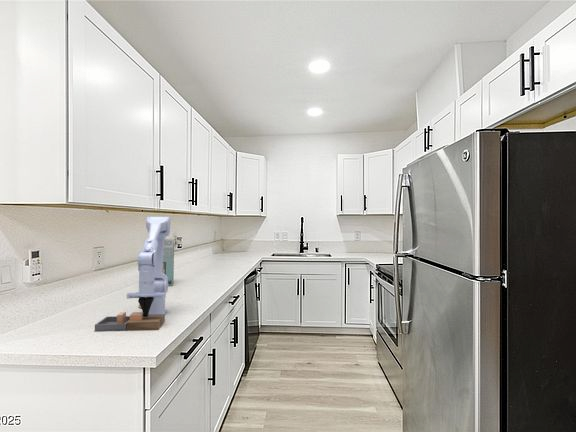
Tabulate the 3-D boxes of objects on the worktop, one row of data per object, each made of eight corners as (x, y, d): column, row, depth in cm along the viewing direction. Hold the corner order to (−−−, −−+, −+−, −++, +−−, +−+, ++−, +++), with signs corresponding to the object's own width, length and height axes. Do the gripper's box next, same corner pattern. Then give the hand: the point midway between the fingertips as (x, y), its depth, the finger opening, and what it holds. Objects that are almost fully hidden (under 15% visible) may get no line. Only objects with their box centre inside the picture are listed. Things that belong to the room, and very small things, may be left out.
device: (145, 287, 229) (146, 239, 230) (147, 284, 237) (148, 239, 238) (172, 286, 233) (173, 239, 234) (173, 284, 241) (174, 239, 241)
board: (135, 322, 149) (136, 314, 149) (164, 321, 150) (164, 314, 151) (126, 330, 137) (126, 322, 137) (157, 329, 139) (158, 322, 139)
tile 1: (126, 323, 145) (121, 323, 145) (125, 312, 145) (120, 312, 145) (122, 326, 140) (117, 326, 140) (122, 314, 141) (116, 315, 140)
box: (106, 322, 148) (106, 316, 148) (135, 322, 149) (135, 316, 149) (94, 331, 136) (94, 324, 136) (125, 330, 137) (125, 324, 137)
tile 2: (133, 317, 145) (133, 312, 145) (144, 317, 146) (144, 312, 146) (129, 320, 141) (129, 315, 141) (141, 319, 141) (141, 314, 141)
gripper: (124, 283, 139) (123, 319, 139) (163, 283, 141) (162, 318, 141) (130, 281, 146) (129, 314, 146) (167, 280, 148) (166, 313, 148)
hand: (146, 316), depth 144 cm, fingers closed
